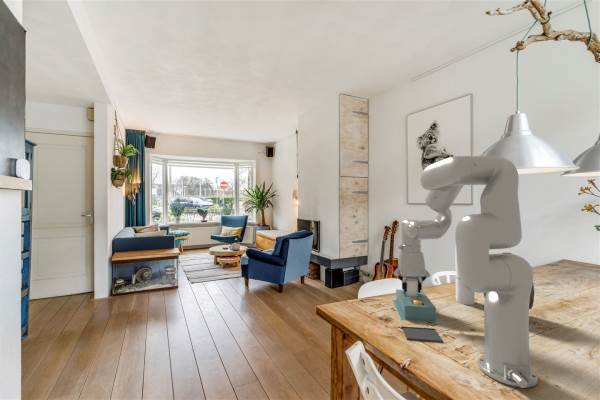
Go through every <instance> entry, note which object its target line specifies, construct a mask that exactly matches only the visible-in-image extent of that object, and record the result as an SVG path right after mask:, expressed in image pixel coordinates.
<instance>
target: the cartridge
mask: <svg viewBox="0 0 600 400" xmlns="http://www.w3.org/2000/svg"><path fill="white" fill-rule="evenodd" d="M405 281H406V297H418V277H409V276H407V277H406V280H405Z"/></svg>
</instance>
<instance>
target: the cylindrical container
mask: <svg viewBox="0 0 600 400" xmlns="http://www.w3.org/2000/svg"><path fill="white" fill-rule="evenodd" d="M454 255H455V256H454V258H455V269H454V270H455V272H454V273H455V302H456V303H458V304H461V305H465V306H473V305H475V292H473V291H470V290H469V289H467V288H466V287H465V286H464V285H463V283H462V281H461V279H460V276H459V272H458V263H457V250H456V245H455V246H454Z"/></svg>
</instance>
